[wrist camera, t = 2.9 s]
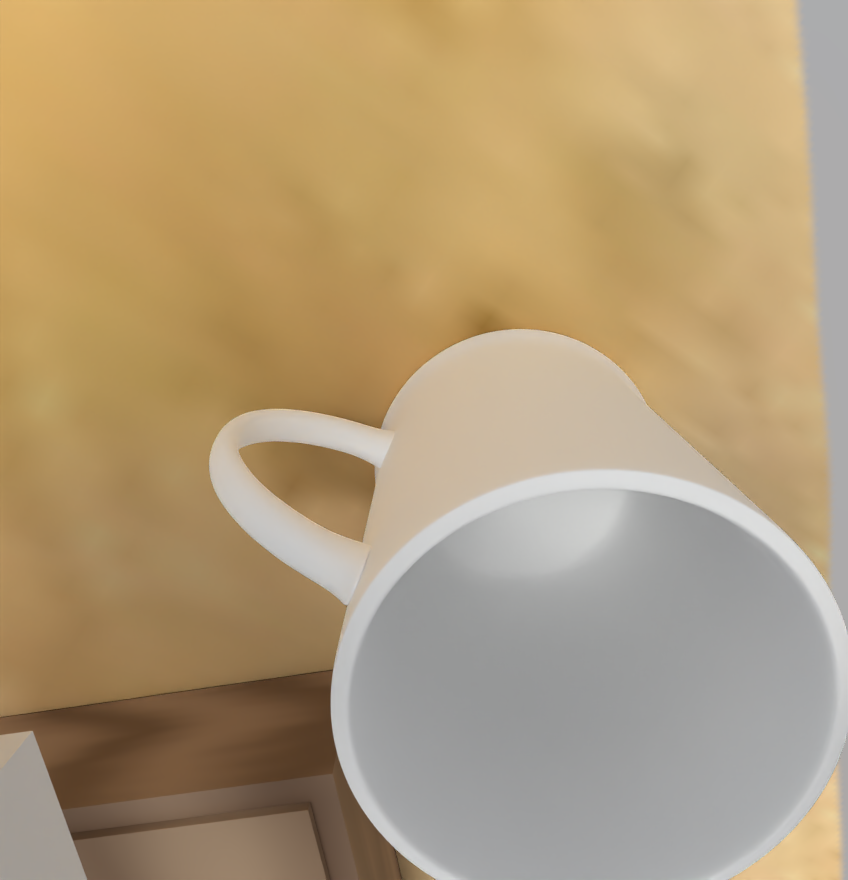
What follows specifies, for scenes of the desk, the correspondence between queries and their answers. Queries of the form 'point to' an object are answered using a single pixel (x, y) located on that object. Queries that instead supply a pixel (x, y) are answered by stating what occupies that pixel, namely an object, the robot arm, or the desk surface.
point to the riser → (210, 786)
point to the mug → (558, 626)
